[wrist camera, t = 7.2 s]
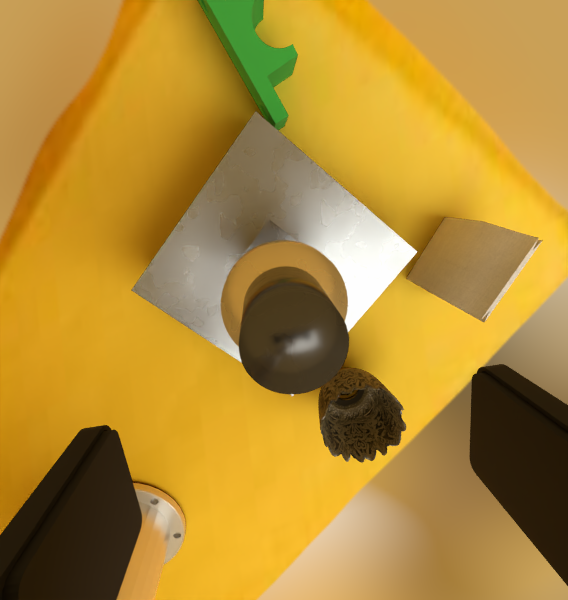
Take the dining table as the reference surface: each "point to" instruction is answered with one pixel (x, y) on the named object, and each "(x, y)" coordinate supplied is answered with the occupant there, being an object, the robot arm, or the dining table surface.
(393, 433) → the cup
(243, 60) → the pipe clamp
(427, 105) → the dining table surface
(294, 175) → the plate
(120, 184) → the dining table surface
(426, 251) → the tan milk carton
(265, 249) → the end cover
